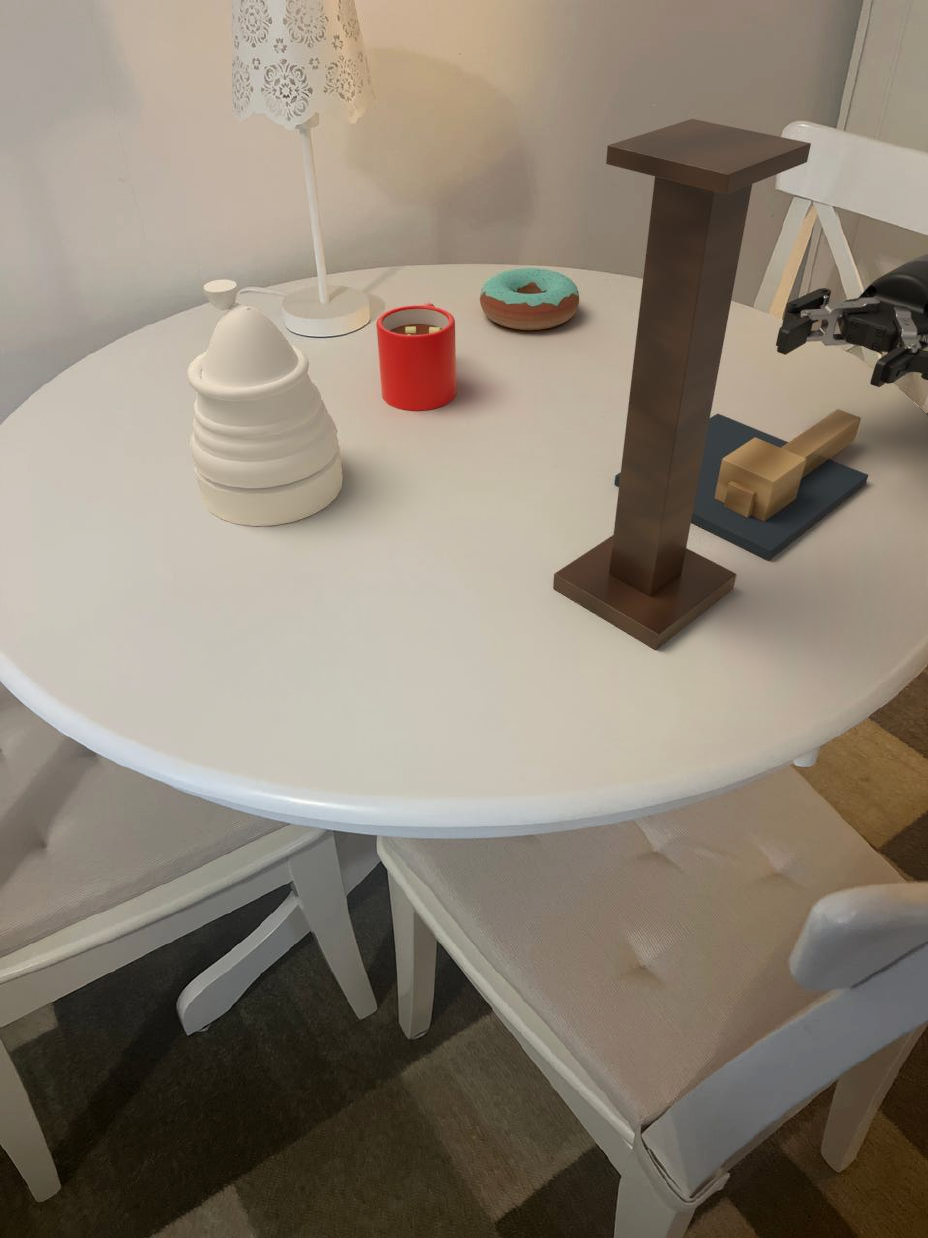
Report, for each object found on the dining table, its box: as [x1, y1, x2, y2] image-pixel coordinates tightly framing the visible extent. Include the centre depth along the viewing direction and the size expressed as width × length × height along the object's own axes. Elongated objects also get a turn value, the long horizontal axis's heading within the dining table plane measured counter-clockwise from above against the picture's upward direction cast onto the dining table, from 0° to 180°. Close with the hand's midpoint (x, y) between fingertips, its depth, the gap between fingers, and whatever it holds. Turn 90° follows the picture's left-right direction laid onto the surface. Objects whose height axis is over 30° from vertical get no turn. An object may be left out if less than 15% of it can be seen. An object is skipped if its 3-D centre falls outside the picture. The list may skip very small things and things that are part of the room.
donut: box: [479, 267, 580, 331], centre depth 111 cm, size 12×12×4 cm
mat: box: [613, 413, 869, 562], centre depth 83 cm, size 16×16×1 cm
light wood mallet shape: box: [715, 408, 862, 522], centre depth 82 cm, size 5×18×4 cm, turn 134°
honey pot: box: [186, 279, 344, 527], centre depth 78 cm, size 13×13×18 cm
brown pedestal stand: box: [552, 118, 812, 651], centre depth 62 cm, size 10×10×32 cm
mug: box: [375, 302, 457, 412], centre depth 96 cm, size 8×12×8 cm, turn 172°
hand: (828, 358), depth 76 cm, fingers open, 8 cm apart
